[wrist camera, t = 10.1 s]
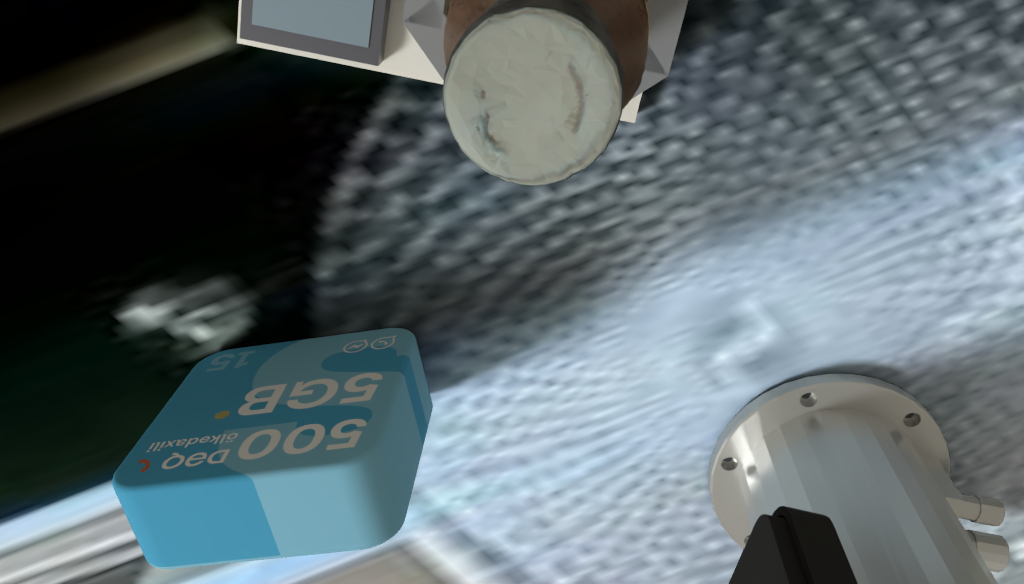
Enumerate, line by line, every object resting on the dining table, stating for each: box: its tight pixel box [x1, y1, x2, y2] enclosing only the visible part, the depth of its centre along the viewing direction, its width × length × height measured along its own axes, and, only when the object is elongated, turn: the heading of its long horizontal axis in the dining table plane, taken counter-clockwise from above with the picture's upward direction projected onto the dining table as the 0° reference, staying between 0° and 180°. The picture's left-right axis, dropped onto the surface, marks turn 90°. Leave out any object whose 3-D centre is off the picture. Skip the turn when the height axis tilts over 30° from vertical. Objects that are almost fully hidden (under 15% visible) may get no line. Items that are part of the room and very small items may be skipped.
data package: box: [112, 328, 433, 569], centre depth 42 cm, size 12×4×12 cm, turn 100°
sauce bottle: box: [442, 0, 649, 185], centre depth 28 cm, size 6×6×20 cm
